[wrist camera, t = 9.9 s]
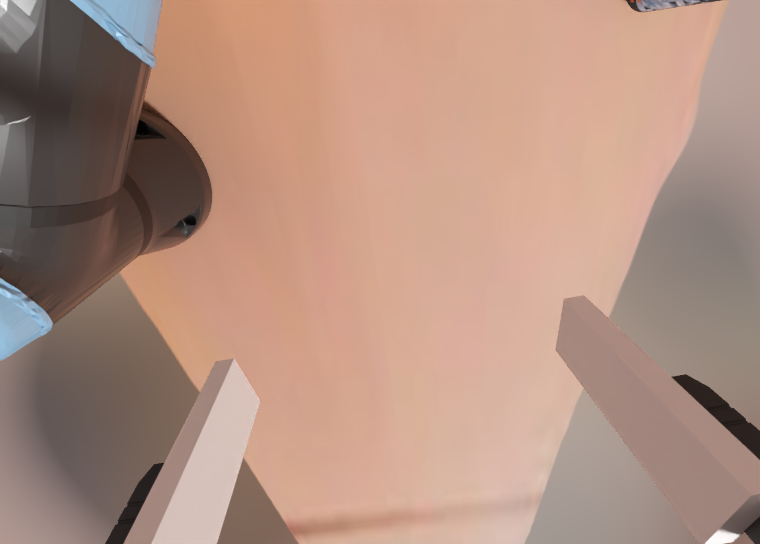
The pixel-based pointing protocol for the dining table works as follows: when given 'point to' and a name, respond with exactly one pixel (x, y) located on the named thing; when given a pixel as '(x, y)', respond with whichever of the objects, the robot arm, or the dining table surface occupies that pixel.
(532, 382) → the dining table surface
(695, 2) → the beverage can
